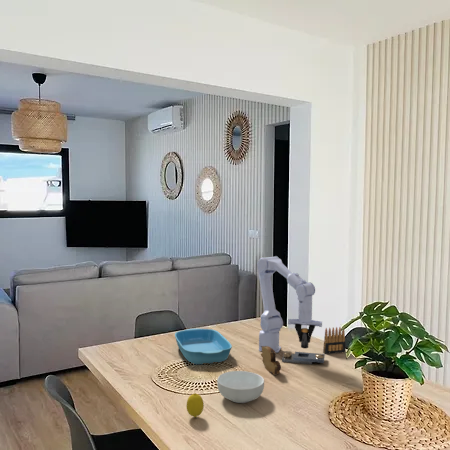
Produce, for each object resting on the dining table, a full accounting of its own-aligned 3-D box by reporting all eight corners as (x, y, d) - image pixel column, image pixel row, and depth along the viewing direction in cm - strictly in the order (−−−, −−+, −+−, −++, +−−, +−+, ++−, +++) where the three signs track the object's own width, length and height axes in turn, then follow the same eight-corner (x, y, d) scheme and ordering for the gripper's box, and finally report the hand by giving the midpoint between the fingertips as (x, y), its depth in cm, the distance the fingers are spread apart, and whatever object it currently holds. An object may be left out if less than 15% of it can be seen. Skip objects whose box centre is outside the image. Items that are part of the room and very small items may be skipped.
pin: (300, 348, 195) (300, 329, 195) (301, 345, 198) (301, 327, 198) (308, 348, 194) (308, 330, 194) (308, 346, 197) (308, 328, 197)
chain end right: (293, 362, 196) (293, 356, 196) (295, 356, 204) (295, 350, 204) (323, 365, 193) (323, 358, 193) (324, 359, 201) (324, 352, 200)
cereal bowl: (249, 413, 149) (249, 392, 148) (207, 401, 158) (208, 381, 157) (272, 395, 163) (272, 376, 163) (233, 385, 172) (233, 366, 172)
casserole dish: (238, 365, 194) (238, 348, 194) (187, 370, 187) (187, 353, 187) (213, 340, 229) (213, 326, 229) (170, 344, 222) (170, 329, 222)
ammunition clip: (343, 350, 212) (344, 325, 212) (345, 352, 211) (346, 326, 210) (323, 352, 210) (323, 327, 209) (325, 354, 208) (325, 328, 207)
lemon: (186, 413, 148) (186, 390, 148) (203, 413, 149) (203, 389, 148) (186, 421, 143) (186, 397, 142) (203, 421, 143) (203, 396, 143)
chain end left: (281, 361, 198) (281, 354, 197) (284, 355, 205) (284, 349, 205) (311, 364, 194) (311, 357, 194) (313, 358, 202) (313, 351, 202)
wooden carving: (285, 377, 180) (285, 352, 179) (274, 378, 178) (275, 354, 178) (266, 363, 195) (266, 340, 195) (257, 364, 194) (257, 342, 193)
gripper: (287, 311, 194) (286, 342, 194) (321, 314, 190) (321, 346, 190) (289, 308, 200) (288, 338, 201) (322, 310, 196) (322, 341, 197)
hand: (304, 341), depth 196 cm, fingers closed on pin, 3 cm apart
